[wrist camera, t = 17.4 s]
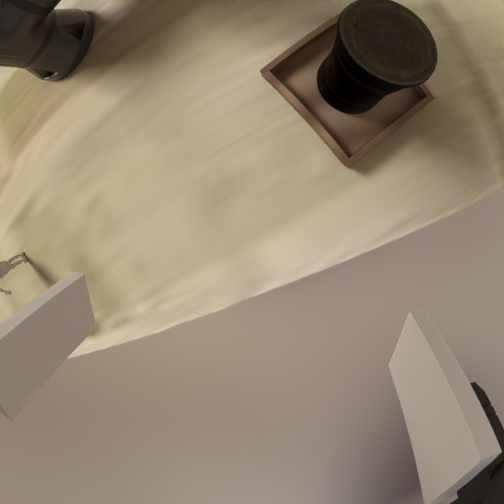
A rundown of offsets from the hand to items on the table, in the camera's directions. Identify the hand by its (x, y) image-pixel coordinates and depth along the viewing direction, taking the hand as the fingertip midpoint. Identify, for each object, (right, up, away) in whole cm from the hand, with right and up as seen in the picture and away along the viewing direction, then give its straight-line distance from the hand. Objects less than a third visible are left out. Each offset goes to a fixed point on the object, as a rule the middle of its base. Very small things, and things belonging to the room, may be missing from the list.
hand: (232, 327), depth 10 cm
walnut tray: (+14, +25, +22) cm, 36 cm away
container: (+14, +25, +21) cm, 35 cm away
